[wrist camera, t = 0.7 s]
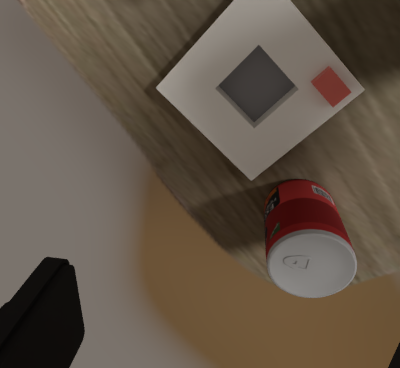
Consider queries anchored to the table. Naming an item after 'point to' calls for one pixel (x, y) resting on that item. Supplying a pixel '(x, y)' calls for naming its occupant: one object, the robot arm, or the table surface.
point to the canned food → (306, 241)
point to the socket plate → (259, 82)
